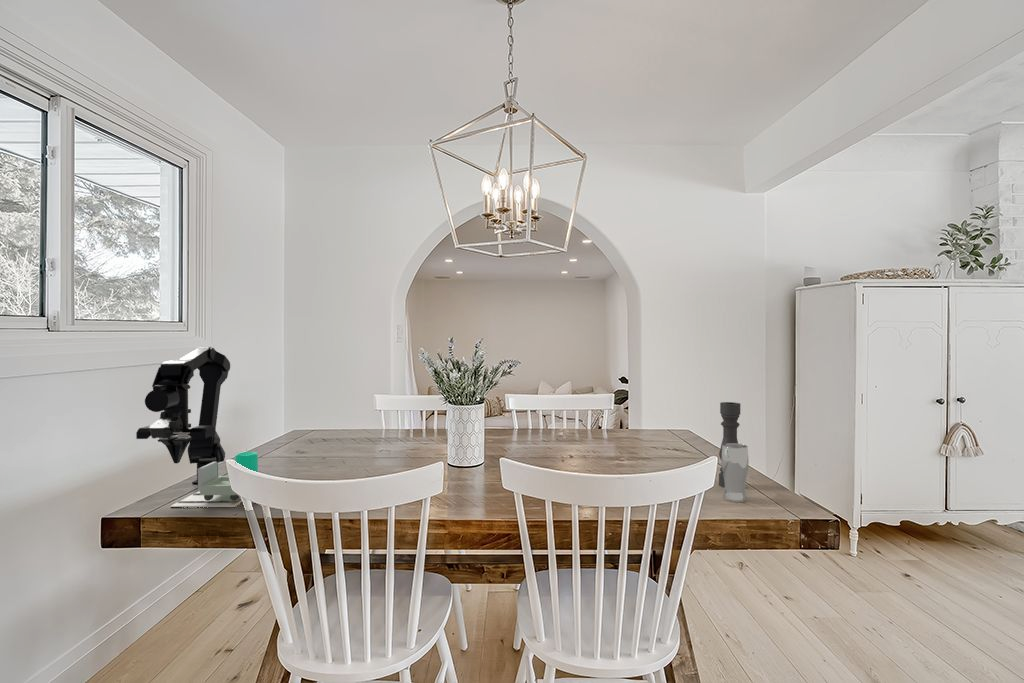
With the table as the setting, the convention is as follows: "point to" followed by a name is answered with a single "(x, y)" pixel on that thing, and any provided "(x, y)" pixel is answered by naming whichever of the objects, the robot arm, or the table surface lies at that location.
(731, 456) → the beer glass
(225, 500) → the track
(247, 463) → the candle
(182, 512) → the table surface
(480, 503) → the table surface
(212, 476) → the cart
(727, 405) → the candle holder
